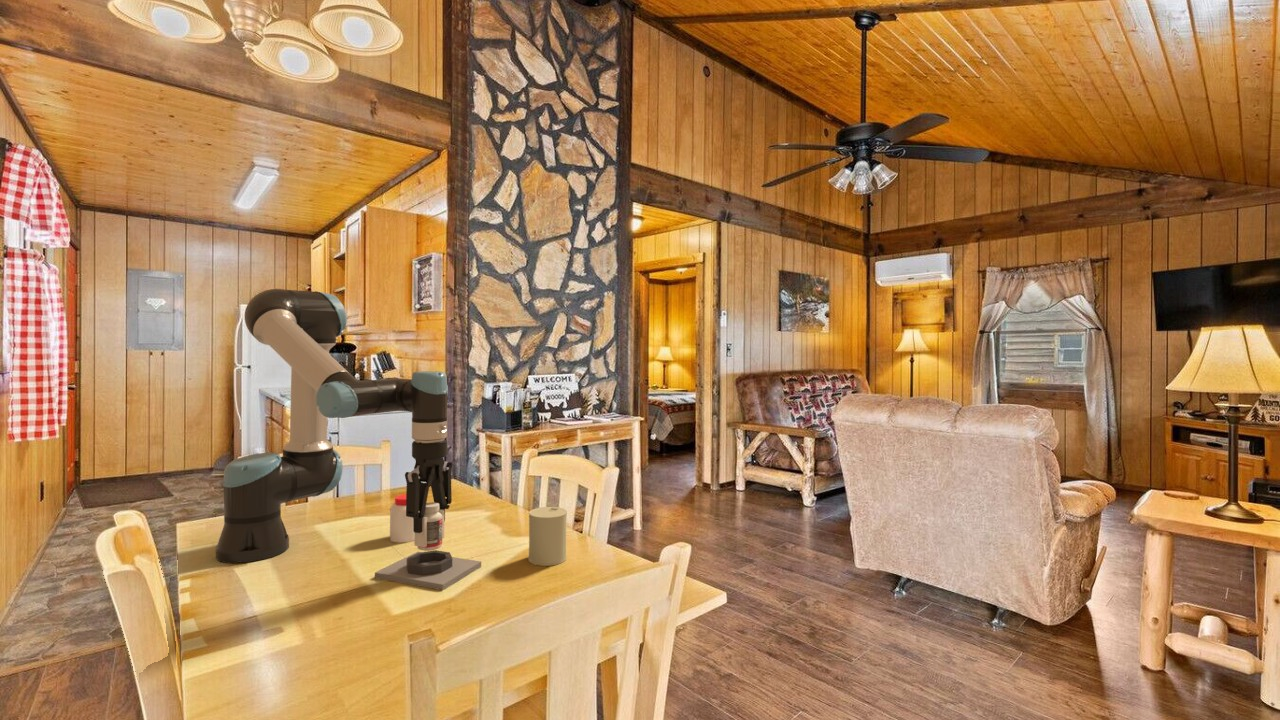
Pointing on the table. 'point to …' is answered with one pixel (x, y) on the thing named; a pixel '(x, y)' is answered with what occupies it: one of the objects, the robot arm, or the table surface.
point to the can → (547, 536)
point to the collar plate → (429, 579)
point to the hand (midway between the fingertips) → (429, 541)
